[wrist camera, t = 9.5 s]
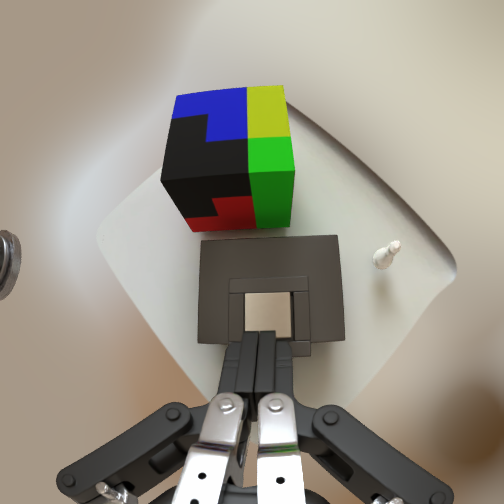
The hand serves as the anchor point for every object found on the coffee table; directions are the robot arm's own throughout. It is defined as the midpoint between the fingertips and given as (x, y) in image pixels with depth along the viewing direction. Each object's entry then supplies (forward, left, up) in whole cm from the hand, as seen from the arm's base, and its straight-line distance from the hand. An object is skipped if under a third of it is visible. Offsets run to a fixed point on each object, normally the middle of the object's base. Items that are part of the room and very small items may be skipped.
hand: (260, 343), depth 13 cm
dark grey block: (0, +5, -14) cm, 15 cm away
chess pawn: (+11, +8, -14) cm, 20 cm away
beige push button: (0, +2, -8) cm, 9 cm away
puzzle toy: (-3, +17, -14) cm, 22 cm away
